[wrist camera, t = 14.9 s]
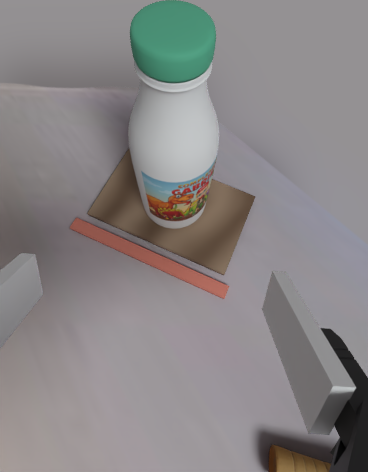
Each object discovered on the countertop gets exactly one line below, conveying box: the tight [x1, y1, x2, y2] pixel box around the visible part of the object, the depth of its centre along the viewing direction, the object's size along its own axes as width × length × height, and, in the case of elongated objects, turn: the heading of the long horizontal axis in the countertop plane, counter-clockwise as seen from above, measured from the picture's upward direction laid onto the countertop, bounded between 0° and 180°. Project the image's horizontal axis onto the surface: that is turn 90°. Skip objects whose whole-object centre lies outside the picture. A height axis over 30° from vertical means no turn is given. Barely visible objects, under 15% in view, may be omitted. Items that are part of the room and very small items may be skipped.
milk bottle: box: [128, 0, 219, 229], centre depth 23 cm, size 8×8×20 cm
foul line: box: [70, 218, 229, 299], centre depth 30 cm, size 20×2×1 cm, turn 66°
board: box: [87, 148, 255, 275], centre depth 32 cm, size 18×11×1 cm, turn 66°
